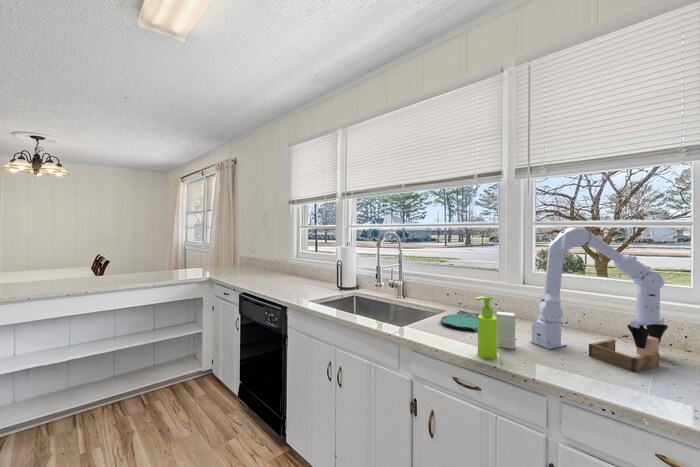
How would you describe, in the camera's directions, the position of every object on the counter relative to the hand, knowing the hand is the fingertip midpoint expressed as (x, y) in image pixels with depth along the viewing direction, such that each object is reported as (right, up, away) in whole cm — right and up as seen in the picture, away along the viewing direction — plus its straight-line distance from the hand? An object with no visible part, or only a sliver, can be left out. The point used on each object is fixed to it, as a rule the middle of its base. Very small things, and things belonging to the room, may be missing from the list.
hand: (647, 346), depth 106 cm
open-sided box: (-11, -3, -4) cm, 12 cm away
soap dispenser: (-54, -4, 0) cm, 55 cm away
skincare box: (-44, -3, +9) cm, 45 cm away
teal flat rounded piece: (-46, -3, +38) cm, 60 cm away
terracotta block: (0, -3, 0) cm, 3 cm away
